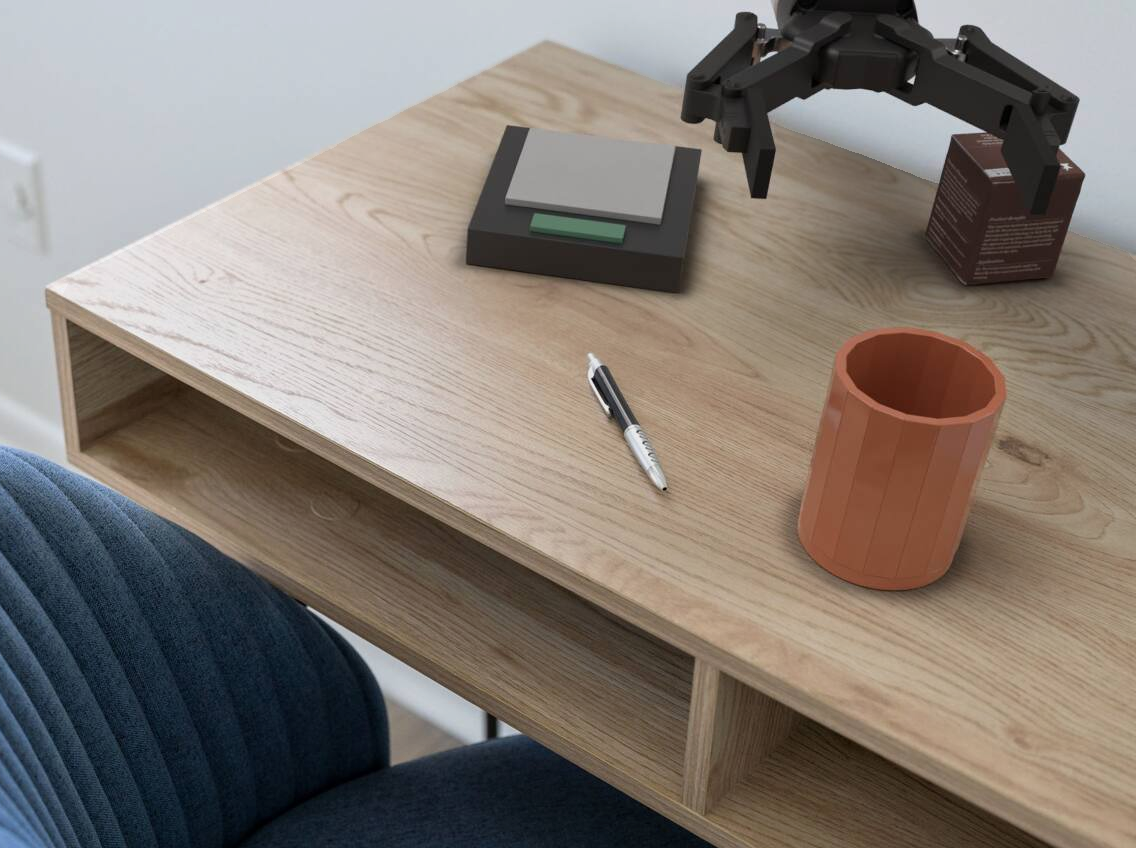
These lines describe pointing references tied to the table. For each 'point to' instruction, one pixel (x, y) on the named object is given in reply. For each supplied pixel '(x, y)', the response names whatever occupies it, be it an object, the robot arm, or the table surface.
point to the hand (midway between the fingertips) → (904, 182)
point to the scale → (586, 208)
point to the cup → (899, 456)
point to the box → (997, 215)
